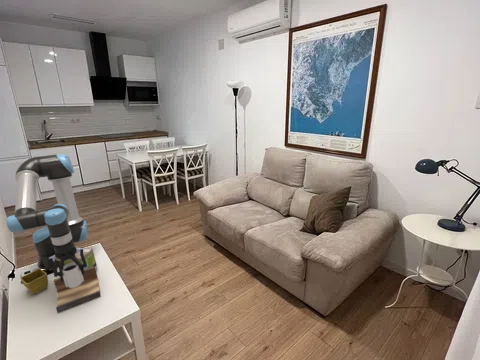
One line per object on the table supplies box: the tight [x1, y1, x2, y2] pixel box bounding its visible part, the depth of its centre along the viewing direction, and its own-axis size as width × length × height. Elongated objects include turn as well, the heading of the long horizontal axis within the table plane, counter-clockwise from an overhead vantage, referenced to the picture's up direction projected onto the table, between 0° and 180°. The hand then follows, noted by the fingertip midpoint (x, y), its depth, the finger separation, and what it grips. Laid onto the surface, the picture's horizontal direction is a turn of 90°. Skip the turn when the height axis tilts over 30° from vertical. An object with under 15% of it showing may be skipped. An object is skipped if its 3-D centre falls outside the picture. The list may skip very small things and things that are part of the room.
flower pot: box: [19, 268, 49, 295], centre depth 128 cm, size 9×9×9 cm
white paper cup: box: [62, 262, 82, 288], centre depth 119 cm, size 7×7×10 cm
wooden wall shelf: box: [53, 266, 102, 314], centre depth 124 cm, size 14×18×9 cm
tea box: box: [56, 247, 98, 272], centre depth 138 cm, size 15×10×15 cm
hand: (75, 282), depth 121 cm, fingers closed on white paper cup, 6 cm apart
